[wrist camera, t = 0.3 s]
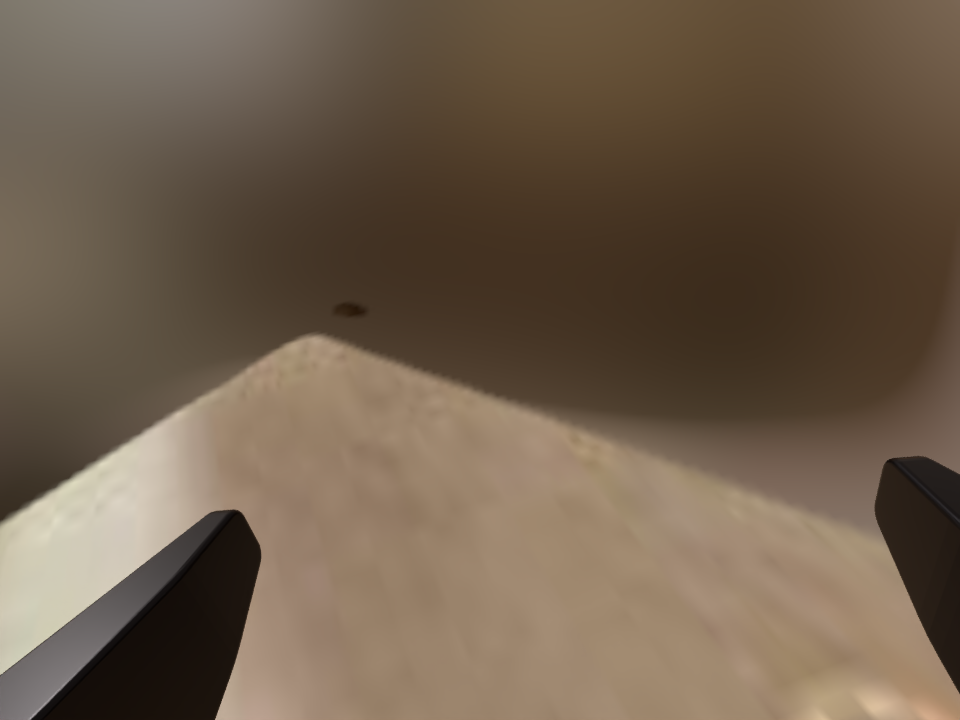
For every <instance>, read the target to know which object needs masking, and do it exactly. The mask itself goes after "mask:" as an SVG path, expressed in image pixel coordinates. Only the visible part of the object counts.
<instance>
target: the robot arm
mask: <svg viewBox="0 0 960 720" xmlns="http://www.w3.org/2000/svg"><path fill="white" fill-rule="evenodd" d="M875 515H876V520H877V523H878V525H879V527H880V530H881V532H882V534H883V537H884V539H885V541H886V544H887V546H888V548H889V550H890V553H891V555H892V557H893V560H894V562H895V564H896V566H897V569H898V571H899V573H900V576H901V578H902V580H903V583H904V585H905V587H906V589H907V592H908V594H909V596H910V599H911V601H912V603H913V606H914V608H915V610H916V612H917V615H918V617H919V619H920V621H921V623H922V626H923V628H924V630H925V632H926V634H927V636H928V638H929V640H930V642H931V644H932V645H933V647H934V649H935V651H936V653H937V655H938V657H939V658H940V660H941V662H942V664H943V665H944V667H945V669H946V671H947V672H948V674H949V676H950V678H951V679H952V681H953V683H954V685H955V686H956V688H957V690H958V692H959V694H960V474H958V473H956V472H954V471H952V470H950V469H949V468H947V467H945V466H943V465H941V464H939V463H937V462H935V461H934V460H931V459H929V458H927V457H923V456H913V457H900V458H892V459H889V460H887V461H886V463H885V464H884V466H883V469H882V474H881V478H880V483H879V487H878V491H877V496H876V500H875ZM260 562H261V549H260V545H259V543H258V541H257V539H256V537H255V535H254V533H253V532H252V530H251V528H250V526H249V524H248V522H247V520H246V519H245V517H244V515H243V514H242V513H241V512H240V511H238V510H222V511H214V512H211V513H209V514H208V515H206V516H205V517H204V518H202V519H201V520H200V521H199V522H197V523H196V524H195V525H193V526H192V527H191V528H189V529H188V530H187V531H186V532H184V533H183V534H182V535H180V536H179V537H178V538H177V539H175V540H174V541H173V542H171V543H170V544H169V545H168V546H166V547H165V548H164V549H162V550H161V551H160V552H159V553H157V554H156V555H155V556H153V557H152V558H151V559H150V560H148V561H147V562H146V563H144V564H143V565H142V566H141V567H139V568H138V569H137V570H135V571H134V572H133V573H132V574H130V575H129V576H128V577H126V578H125V579H124V580H122V581H121V582H120V583H119V584H117V585H116V586H115V587H113V588H112V589H111V590H110V591H108V592H107V593H106V594H104V595H103V596H102V597H101V598H99V599H98V600H97V601H95V602H94V603H93V604H92V605H90V606H89V607H88V608H86V609H85V610H84V611H83V612H81V613H80V614H79V615H77V616H76V617H75V618H74V619H72V620H71V621H70V622H68V623H67V624H66V625H65V626H63V627H62V628H61V629H59V630H58V631H57V632H55V633H54V634H53V635H52V636H50V637H49V638H48V639H46V640H45V641H44V642H43V643H41V644H40V645H39V646H37V647H36V648H35V649H34V650H32V651H31V652H30V653H28V654H27V655H26V656H25V657H23V658H22V659H21V660H19V661H18V662H17V663H16V664H14V665H13V666H12V667H10V668H9V669H8V670H7V671H5V672H4V673H3V674H1V675H0V720H215V718H216V716H217V713H218V710H219V707H220V704H221V701H222V699H223V696H224V693H225V690H226V687H227V684H228V682H229V679H230V676H231V673H232V670H233V667H234V664H235V661H236V657H237V654H238V650H239V647H240V643H241V639H242V635H243V631H244V627H245V623H246V619H247V615H248V611H249V607H250V603H251V599H252V595H253V591H254V587H255V583H256V579H257V575H258V571H259V567H260Z"/></svg>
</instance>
